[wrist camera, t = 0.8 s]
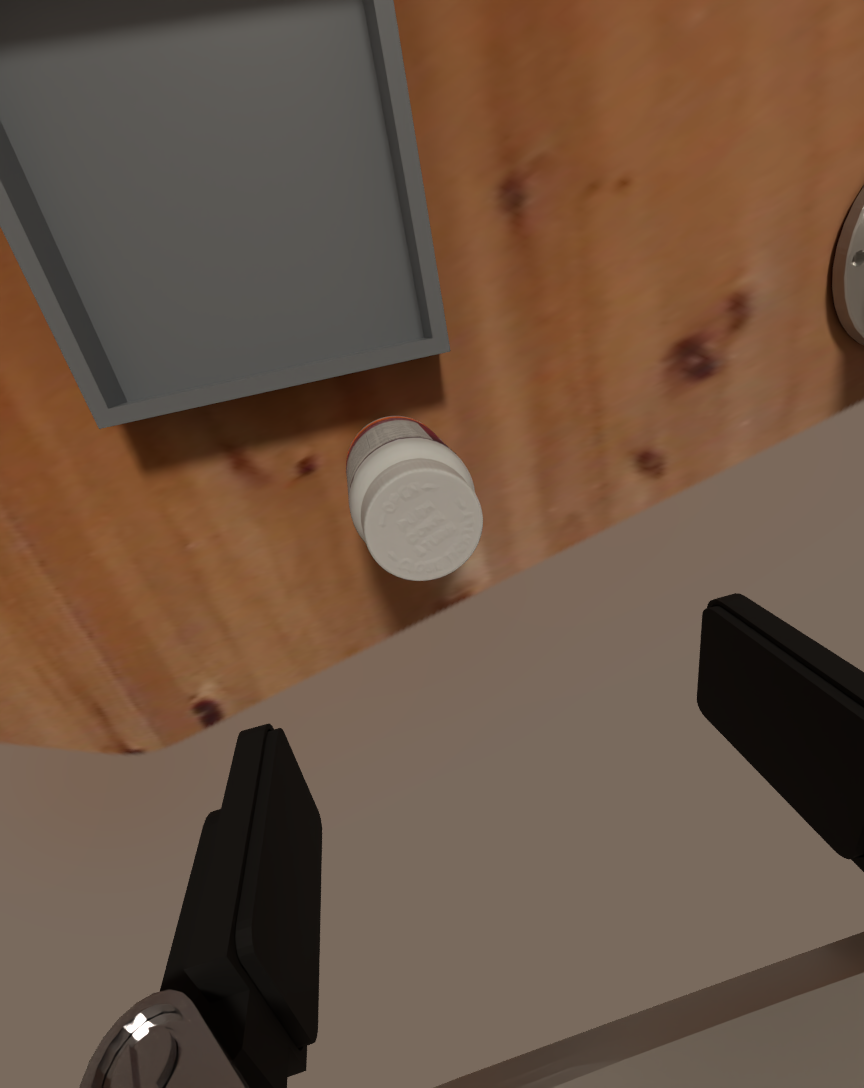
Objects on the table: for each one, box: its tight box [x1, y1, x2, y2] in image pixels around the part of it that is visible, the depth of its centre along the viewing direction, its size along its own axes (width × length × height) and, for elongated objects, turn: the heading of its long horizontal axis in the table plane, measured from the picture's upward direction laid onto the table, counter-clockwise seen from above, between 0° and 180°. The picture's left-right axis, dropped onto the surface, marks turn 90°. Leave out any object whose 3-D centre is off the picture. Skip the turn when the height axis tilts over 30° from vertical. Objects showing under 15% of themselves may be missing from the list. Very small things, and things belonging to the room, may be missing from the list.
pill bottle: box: [346, 416, 483, 581], centre depth 25 cm, size 6×6×11 cm
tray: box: [0, 0, 450, 429], centre depth 22 cm, size 18×18×3 cm
